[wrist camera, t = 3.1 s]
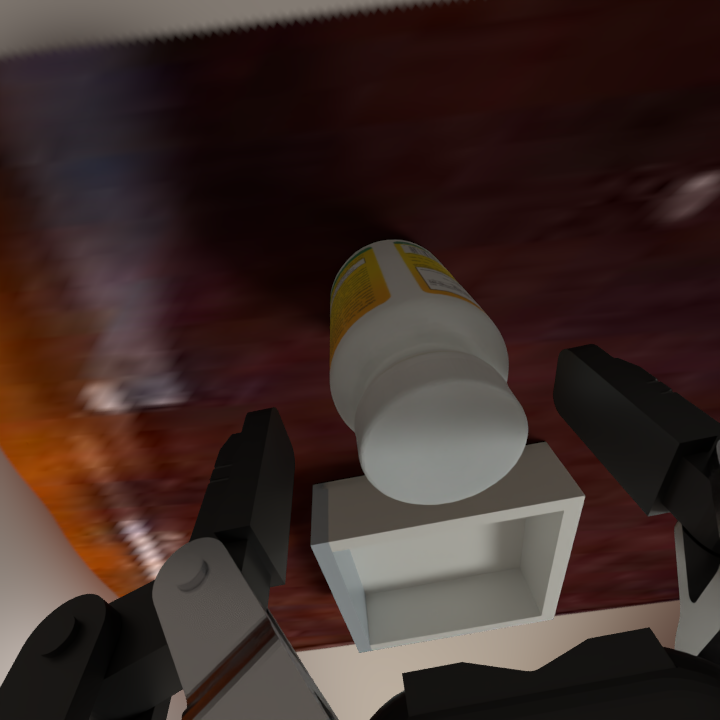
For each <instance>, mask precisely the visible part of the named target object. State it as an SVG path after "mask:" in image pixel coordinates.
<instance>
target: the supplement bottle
mask: <svg viewBox="0 0 720 720" xmlns="http://www.w3.org/2000/svg"><path fill="white" fill-rule="evenodd" d="M508 363H509V362H508V354H507V349H506V346H505V343H504V340H503V338H502V336H501V334H500V332H499V330H498V329H497V327H496V326H495V324H494V323H493V322H492V320H491V319H490V318H489V317H488V316H487V314H486V313H485V312H484V311H483V309H482V308H481V307H480V306H479V305H478V304H477V303H476V302H475V301H474V299H473V298H472V297H471V296H470V295H469V294H468V293H467V292H466V291H465V290H464V288H463V287H462V286H461V285H460V284H459V283H458V282H457V281H456V280H455V279H454V277H453V276H452V275H451V274H450V273H449V272H448V271H447V269H446V268H445V267H444V266H443V265H442V264H441V263H440V262H439V260H438V259H436V257H434V256H433V255H432V254H431V253H430V252H429V251H427V250H426V249H424V248H423V247H421V246H419V245H417V244H415V243H412V242H409V241H404V240H383V241H378V242H375V243H372V244H369V245H367V246H365V247H363V248H361V249H360V250H358V251H357V252H355V253H354V254H353V255H352V256H351V257H350V258H349V259H348V260H347V261H346V262H345V264H344V265H343V266H342V267H341V269H340V270H339V272H338V274H337V276H336V278H335V280H334V283H333V286H332V290H331V297H330V387H331V394H332V398H333V401H334V404H335V406H336V408H337V411H338V412H339V414H340V416H341V417H342V419H343V420H344V422H345V423H346V424H347V425H348V426H349V427H350V428H351V429H352V430H353V431H354V432H355V435H356V439H357V447H358V454H359V461H360V464H361V468H362V470H363V472H364V474H365V475H366V477H367V479H368V480H369V481H370V482H371V484H372V485H373V486H374V487H375V488H377V489H378V490H379V491H380V492H382V493H383V494H385V495H386V496H388V497H391V498H393V499H396V500H399V501H402V502H406V503H411V504H422V505H437V504H444V503H451V502H455V501H459V500H462V499H465V498H468V497H471V496H473V495H476V494H478V493H480V492H482V491H484V490H485V489H487V488H489V487H490V486H492V485H493V484H495V483H496V482H498V481H499V480H500V479H502V478H503V477H504V476H505V475H506V474H507V473H508V472H509V471H510V470H511V469H512V468H513V466H514V465H515V464H516V463H517V461H518V459H519V458H520V456H521V454H522V452H523V450H524V448H525V445H526V441H527V436H528V423H527V418H526V415H525V413H524V410H523V408H522V406H521V405H520V403H519V402H518V400H517V399H516V397H515V396H514V395H513V393H512V392H511V390H510V389H509V387H508V385H507V378H508Z"/></svg>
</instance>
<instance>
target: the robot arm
mask: <svg viewBox="0 0 720 720" xmlns="http://www.w3.org/2000/svg"><path fill="white" fill-rule="evenodd" d="M553 399H554V404H555V407H556V409H557V411H558V413H559V414H560V415H561V417H562V418H563V419H564V420H565V421H566V422H567V424H568V425H569V426H570V427H571V428H572V429H573V431H574V432H575V433H576V434H577V435H578V436H579V437H580V439H581V440H582V441H583V442H584V443H585V444H586V445H587V447H588V448H589V449H590V450H591V451H592V452H593V454H594V455H595V456H596V457H597V458H598V459H599V460H600V462H601V463H602V464H603V465H604V466H605V467H606V469H607V470H608V471H609V472H610V473H611V474H612V475H613V477H614V478H615V479H616V480H617V481H618V482H619V483H620V485H621V486H622V487H623V488H624V489H625V490H626V492H627V493H628V494H629V495H630V496H631V497H632V498H633V500H634V501H635V502H636V503H637V504H638V505H639V506H640V508H641V509H642V510H643V511H644V512H645V513H646V515H647V516H652V515H657V514H663V513H668V512H671V513H672V514H673V516H674V517H675V518H676V519H677V520H678V521H677V522H676V525H675V530H674V532H675V544H676V557H677V569H678V582H679V594H680V620H679V625H678V629H677V633H676V639H675V649H670V648H666V647H662V645H661V644H660V642H659V641H658V639H657V638H656V636H655V635H654V633H653V632H652V630H651V629H650V628H644V629H638V630H633V631H627V632H622V633H616V634H611V635H606V636H600V637H595V638H590V639H587V640H585V641H584V642H582V643H581V644H579V645H577V646H576V647H574V648H572V649H571V650H569V651H567V652H566V653H564V654H563V655H561V656H559V657H558V658H556V659H554V660H553V661H551V662H549V663H548V664H546V665H545V666H543V667H541V668H540V669H538V670H535V671H521V670H514V669H507V668H500V667H493V666H486V665H478V664H472V663H464V662H461V663H455V664H450V665H444V666H439V667H434V668H428V669H423V670H418V671H412V672H407V673H402V676H403V682H404V689H405V690H404V691H403V692H401V693H399V694H397V695H396V696H394V697H393V698H391V699H390V700H389V701H388V702H387V703H385V704H384V705H383V706H382V707H381V708H380V709H379V710H378V711H377V712H376V713H375V714H374V715H373V716H372V718H371V719H370V720H720V423H718V422H717V421H716V420H714V419H713V418H711V417H710V416H709V415H707V414H706V413H704V412H703V411H702V410H700V409H699V408H697V407H696V406H694V405H693V404H692V403H690V402H689V401H687V400H686V399H685V398H683V397H682V396H680V395H679V394H678V393H676V392H675V393H673V392H672V389H671V388H669V387H668V386H666V385H665V384H663V383H662V382H658V381H657V379H656V378H655V377H654V376H652V375H651V374H649V373H648V372H647V371H645V370H644V369H642V368H641V367H639V366H637V365H634V364H632V363H629V362H627V361H624V360H622V359H619V358H613V357H612V356H610V355H609V354H608V353H606V352H605V351H604V350H602V349H601V348H599V347H598V346H596V345H594V344H589V345H584V346H579V347H574V348H569V349H564V350H562V351H561V352H560V354H559V357H558V364H557V371H556V378H555V384H554V391H553ZM214 467H215V469H214V470H213V472H212V475H211V478H210V484H208V487H207V490H206V493H205V496H204V499H203V502H202V505H201V508H200V511H199V514H198V517H197V520H196V523H195V526H194V529H193V532H192V535H191V538H190V541H189V543H187V544H185V545H184V546H182V547H181V548H179V549H178V550H177V551H176V552H175V553H173V554H172V555H171V556H170V557H169V559H168V560H167V561H166V562H165V563H164V565H163V566H162V568H161V569H160V571H159V573H158V575H157V577H156V579H155V580H153V581H152V582H150V583H148V584H146V585H144V586H142V587H140V588H138V589H136V590H134V591H132V592H130V593H128V594H127V595H125V596H123V597H121V598H119V599H117V600H115V601H113V602H111V603H109V604H108V603H107V602H106V601H105V600H103V599H102V598H101V597H100V596H98V595H95V594H85V595H81V596H78V597H75V598H73V599H71V600H69V601H67V602H66V603H64V604H62V605H61V606H60V607H58V608H57V609H55V610H54V611H53V612H52V613H51V614H49V615H48V616H47V617H46V618H45V619H44V620H43V621H42V622H41V623H40V624H39V625H38V626H37V628H36V629H35V630H34V631H33V632H32V634H31V635H30V636H29V638H28V639H27V641H26V642H25V644H24V645H23V647H22V649H21V651H20V652H19V654H18V656H17V658H16V660H15V662H14V663H13V665H12V667H11V669H10V671H9V672H8V674H7V676H6V678H5V680H4V682H3V683H2V685H1V687H0V720H166V718H167V713H168V709H169V704H170V700H171V696H172V695H174V694H176V693H177V692H179V691H181V690H182V689H183V690H184V693H185V696H186V700H187V709H186V710H185V711H184V712H183V714H182V720H338V718H337V716H336V715H335V713H334V712H333V710H332V709H331V707H330V705H329V704H328V703H327V701H326V699H325V698H324V696H323V695H322V693H321V692H320V690H319V689H318V687H317V686H316V684H315V683H314V681H313V679H312V678H311V676H310V675H309V673H308V671H307V670H306V668H305V667H304V665H303V663H302V662H301V660H300V659H299V657H298V655H297V654H296V652H295V651H294V649H293V647H292V646H291V644H290V643H289V641H288V639H287V638H286V636H285V635H284V633H283V631H282V630H281V628H280V627H279V625H278V623H277V622H276V620H275V619H274V617H273V615H272V614H271V612H270V611H269V609H268V608H267V607H268V598H269V590H270V587H274V586H279V585H284V584H285V578H286V566H287V554H288V542H289V531H290V519H291V507H292V495H293V483H294V471H295V458H294V452H293V448H292V445H291V442H290V440H289V437H288V435H287V432H286V430H285V427H284V425H283V422H282V420H281V417H280V415H279V412H278V410H277V409H276V408H275V407H273V408H268V409H263V410H258V411H253V412H249V413H247V415H246V418H245V421H244V425H243V429H242V432H241V433H237V434H232V435H231V436H230V438H229V439H228V440H227V441H226V443H225V444H224V445H223V447H222V448H221V449H220V451H219V454H218V457H217V460H216V463H215V466H214Z"/></svg>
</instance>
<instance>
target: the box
mask: <svg viewBox="0 0 720 720" xmlns="http://www.w3.org/2000/svg"><path fill="white" fill-rule="evenodd" d="M584 499H585V495H584V493H583V492H582V490H581V489H580V488H579V486H578V485H577V484H576V482H575V481H574V479H573V478H572V477H571V475H570V474H569V473H568V471H567V470H566V468H565V467H564V466H563V464H562V463H561V462H560V460H559V459H558V458H557V456H556V455H555V453H554V452H553V451H552V449H551V448H550V447H549V445H548V444H547V442H541V443H536V444H530V445H525V448H524V450H523V452H522V454H521V456H520V458H519V459H518V461H517V463H516V464H515V465H514V466H513V468H512V469H511V470H510V471H509V472H508V473H507V474H506V475H505V476H504V477H503V478H502V479H500V480H499V481H498V482H496V483H495V484H493V485H492V486H490V487H489V488H487V489H485V490H484V491H482V492H480V493H478V494H476V495H473V496H471V497H468V498H465V499H462V500H459V501H455V502H451V503H444V504H437V505H422V504H411V503H406V502H402V501H399V500H396V499H393V498H391V497H388V496H386V495H385V494H383V493H382V492H380V491H379V490H378V489H377V488H375V487H374V486H373V485H372V484H371V482H370V481H369V480H368V479H367V477H366V475H364V476H358V477H353V478H348V479H342V480H337V481H332V482H326V483H321V484H315V485H313V497H312V521H311V548H312V550H313V552H314V554H315V556H316V559H317V561H318V563H319V565H320V567H321V570H322V572H323V574H324V576H325V578H326V581H327V583H328V585H329V587H330V589H331V592H332V594H333V596H334V598H335V600H336V603H337V605H338V607H339V609H340V611H341V614H342V616H343V618H344V620H345V622H346V625H347V627H348V629H349V631H350V633H351V636H352V638H353V640H354V642H355V644H356V646H357V649H358V651H359V653H361V652H367V651H373V650H379V649H384V648H390V647H396V646H402V645H407V644H413V643H419V642H425V641H430V640H436V639H442V638H448V637H454V636H460V635H466V634H471V633H477V632H482V631H489V630H495V629H500V628H506V627H511V626H517V625H524V624H529V623H534V622H541V621H546V620H552V619H554V615H555V611H556V607H557V603H558V599H559V596H560V592H561V588H562V584H563V580H564V576H565V572H566V568H567V565H568V561H569V557H570V553H571V549H572V545H573V541H574V537H575V534H576V530H577V526H578V522H579V518H580V514H581V510H582V506H583V503H584Z"/></svg>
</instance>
